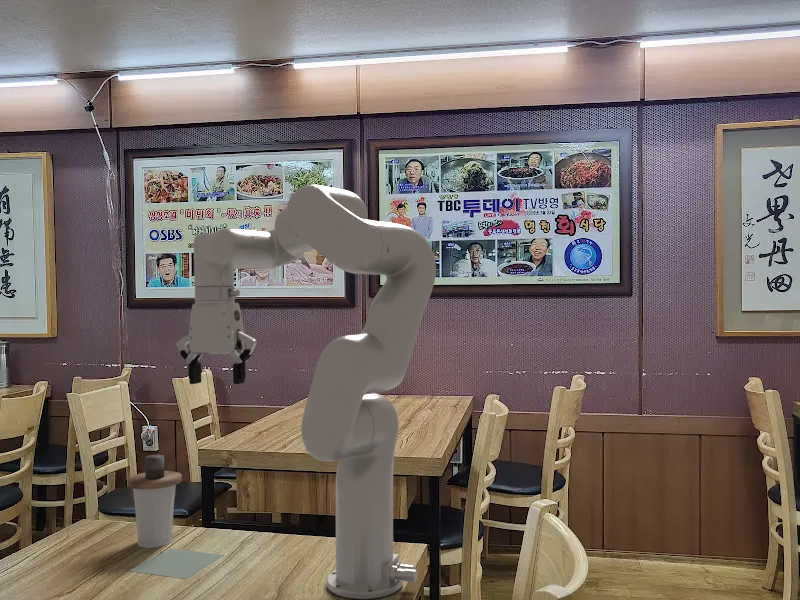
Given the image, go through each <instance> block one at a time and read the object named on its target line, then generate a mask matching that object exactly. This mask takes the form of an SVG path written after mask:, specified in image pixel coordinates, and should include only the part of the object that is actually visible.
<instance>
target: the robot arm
mask: <svg viewBox="0 0 800 600" xmlns="http://www.w3.org/2000/svg"><path fill="white" fill-rule="evenodd" d="M368 215H369V214H368V208H367V206H366V203H365V201H363V200H362V198H361V197H360V196H358V195H357V194H356V193H354V192H352V191H350V190H347V189H342V188H337V187H333V186H332V187H330V186H326V185H320V184H307V185H304V186H302V187H300V188H298V189H296V191H295V192H293V193H292V194H291V196H290V197H289V200H288V202H287V205H286V207H285V208H283V209H282V210H281V211H279V212H278V214H277V215H276V217H275V221H274V229H272V230H268V231H267V230H265V231H264V230H262V231H261V230H254V229H245V228H242V229H241V228H231V227H228V228H227V227H226V228H222V229H218V230H216V231H215V232H214V231H213V232H206V233H205V232H204V233H200V234H197V235H196V236H195V237H194V239H193V267H194V268H193V269H194V270H193V272H194V278H193V279H194V303H193V304H192V306H191V310H190V315H189V316H190V317H189V325H188V326H189V331H188V334H187V335H185V336H183V337H182V338H180V339H179V340H177V341H176V342H175V343H176V344H175V345H176V347H177V349H178V351H179V355H180V356H181V357H182V358H183V359H184V360H185V364H187V367H188V379H189V380H188V381H189V385H196V384H201V382H202V363H201V362H199V360H200V359H201V358H202V356H203V355H226V354H227V355H228V354H229V355H230V357H231V358H232V359H233V360H234V362H235V363H234V362H233V365H232V379H233V380H232V382H233V384H234V385H241V384H243V383H245V379H246V363H247V362H248V361H249V359H250V357H251V356H252V355H253V354H254V350H255V348H256V346H257V344H258V340H257V339H255V338H254V337H252V336H250V335H248V334H246V333H245V332H244V323H243V316H242V312H241V307H240V304H239V302H235V300H236V297H239V296H240V295H241V294H240V293H241V292H240V289H236V288H235V272H234V269H241V270H242V269H248V270H249V269H250V270H271V269H274V268H278V267H283V266H284V265H285V266H286V265H288V264H289V265H290V264H291V263H294V262H296V261H298V260H299V259H300V258H301V257H302V256H303V255H304V254H305V253H307V252H311V251H314V250H315V252H317V253H318V254H320V255H321V257H324V258H325V259H326V260H327V261H329V262H330V263H331V264H332V265H334V266H335V267H337V268H338V269H340V270H342V271H344V272H347V273H350V274H353V275H356V274H357V275H375V276H377V275H379V276H383V275H384V276H385V277H386V280H385V282H384V284H383V285H382V286H381V287H380V289H379V291H377V293H376V295H375V296H374V298H373V299H372V302H371V304H370V307H369V311H368V314H367V315H368V316H367V318H366V321H365V325H364V327H363V329H362V331H361V332H360V333H359V334H349V335H343V336H339V337H337V338H334V339H333V340H331V341H330V342H329V344H327V346H326V347H325V348H324V349H323V350H322V352H321V354H320V356H319V358H318V360H317V364H316V367H315V370H314V374H313V377H312V382H311V385H310V388H309V392H308V396H307V399H306V403H305V406H304V411H303V415H302V419H301V427H300V428H301V438H302V443H303V446H304V448H305V451H307V452H308V453H309V455H310V456H311V457H312V458H314V459H315V460H318V461H321V462H335V461H338V464H337V465H338V466H337V469H336V473H335V474H336V475H335V569H334V570H332V571H331V572H330V573H329V574H328V575H327V577H326V587H327V589H328V590H329V591H330V592H331V593H333V594H335V595H336V596H339V597H342V598H347V599H353V600H354V599H355V600H370V599H371V600H372V599H378V598H383V597H386V596H387V597H388V596H389V595H392V594H394V593H396V592H397V591H398V590H400V589H401V588H402V586H403V585H404V583H403V582H408V583H417V580H418V570H417V569H415V568H416V567H415V565H413V564H402V563H401V562H400V561H399V560H400V559H399V557H400V555H399V553H394V494H393V493H394V464H395V463H394V460H395V452H396V445H397V441H398V433H399V417H398V413H397V409H396V407H395V406H394V404H393V403H392V402H391V401H390V400H389V399H388V398H387V397H385V396H384V395H382V394H379V393H381V392H386V391H390V390H392V389H395V388H397V387H399V386H400V385H401V383H402V382H403V380H404V378H405V377H406V374H407V371H408V368H409V364H410V361H411V358H412V355H413V352H414V349H415V348H414V347H415V344H416V341H417V339H418V338H417V337H418V334H419V330H420V327H421V323H422V319H423V317H424V314H425V311H426V308H427V305H428V303H429V299H430V297H431V295H432V291H433V288H434V284H435V280H436V276H437V275H436V274H437V265H436V264H437V263H436V257H435V253H434V251H433V249H432V247H431V245H430V243H429V242H428V240H427V239H426V238H425V237H424V236H423V235H422V234H421V233H420V232H419V231H417V230H415V229H414V228H412V227H410V226H407V225H403V224H400V223H395V222H389V221H378V220H374V219H373V220H372V219H368ZM188 344H189V345H188ZM245 344H246V347H245ZM188 346H189V349H188Z"/></svg>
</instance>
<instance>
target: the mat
mask: <svg viewBox="0 0 800 600" xmlns="http://www.w3.org/2000/svg"><path fill="white" fill-rule="evenodd" d="M222 557H224V554H217V553H209V552H203V551H193V550H185V549H177V548H169V549H167V550H165V551H163V552H162V553H160V554H158V555H156V556H154V557H152V558H151V559H149V560H147V561H145V562H143V563H142V564H139V565H138V566H136V567H134V568H132V569H130V570H129V572H132V573H141V574H146V575H154V576H162V577H169V578H176V579H182V580H187V579H189V578H191V577H192V576H193V575H195V574H197V573H198V572H200V571H202V570H203V569H204V568H206V567H208V566H210V565H211V564H212V563H214V562H215V561H217V560H219V559H221V558H222Z"/></svg>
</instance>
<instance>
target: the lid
mask: <svg viewBox="0 0 800 600" xmlns="http://www.w3.org/2000/svg"><path fill="white" fill-rule="evenodd" d="M182 476H183V475H182V473H180V472H178V471H171V470H165V455H163V454H152V455H151V454H150V455H145V457H144V472H140V473H138V474H137V473H136V474H134V475H132V476H129V477H128V478H127V479H126V481H127V483H126V484H127V485H126V486H127V487H128V488H131V489H133V488H134V489H159V488H165V487H170V486H174V485H179V484H181V482H182V480H183V479H182V478H183V477H182Z"/></svg>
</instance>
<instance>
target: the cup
mask: <svg viewBox="0 0 800 600" xmlns="http://www.w3.org/2000/svg"><path fill="white" fill-rule="evenodd" d="M176 485H177V484H176ZM176 485H174V486H170V487H165V488H159V489H134V488H132V491H133V501H134V508H135V509H134V510H135V520H136V533H137V546H138V547H141V548H145V549H152V548H159V547H165V546H167V545H169V544H171V543H172V542H173V524H174V522H173V521H174V507H175V497H176V488H177V487H176Z"/></svg>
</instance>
